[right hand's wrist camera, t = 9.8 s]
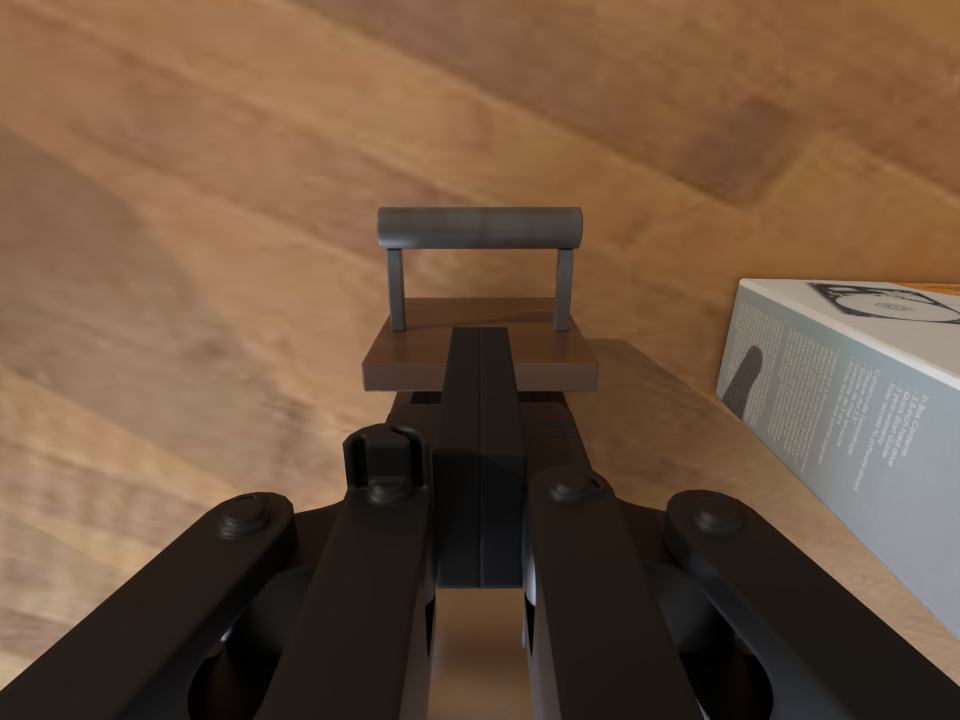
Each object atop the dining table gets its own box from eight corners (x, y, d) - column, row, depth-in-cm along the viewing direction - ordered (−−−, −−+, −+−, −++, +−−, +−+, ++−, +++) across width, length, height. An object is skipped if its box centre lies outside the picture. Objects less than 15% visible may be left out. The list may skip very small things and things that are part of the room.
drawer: (392, 197, 26) (347, 218, 17) (567, 197, 26) (612, 218, 17) (415, 583, 35) (394, 725, 27) (543, 583, 35) (565, 725, 27)
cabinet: (399, 432, 32) (360, 567, 21) (560, 432, 32) (599, 567, 21) (415, 672, 40) (392, 858, 29) (544, 672, 40) (567, 857, 29)
